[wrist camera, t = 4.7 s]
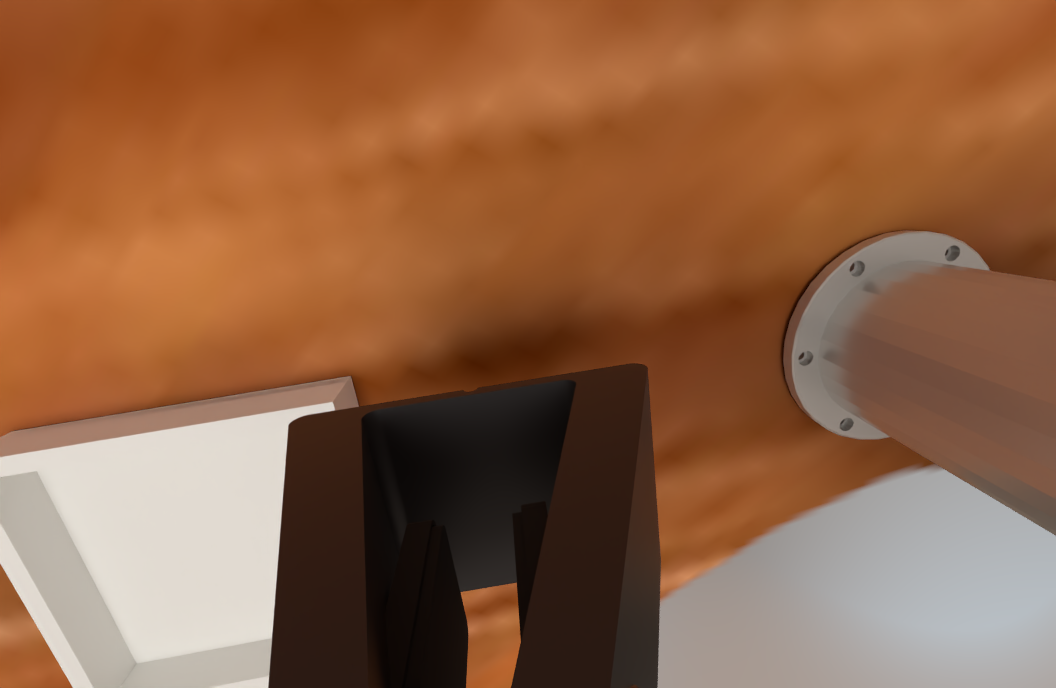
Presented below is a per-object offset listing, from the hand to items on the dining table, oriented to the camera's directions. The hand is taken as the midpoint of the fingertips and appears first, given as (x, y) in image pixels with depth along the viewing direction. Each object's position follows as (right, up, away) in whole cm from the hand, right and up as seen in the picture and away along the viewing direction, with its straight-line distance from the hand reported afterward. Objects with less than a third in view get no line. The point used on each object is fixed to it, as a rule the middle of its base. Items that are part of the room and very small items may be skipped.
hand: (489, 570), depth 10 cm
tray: (-17, -6, +19) cm, 26 cm away
